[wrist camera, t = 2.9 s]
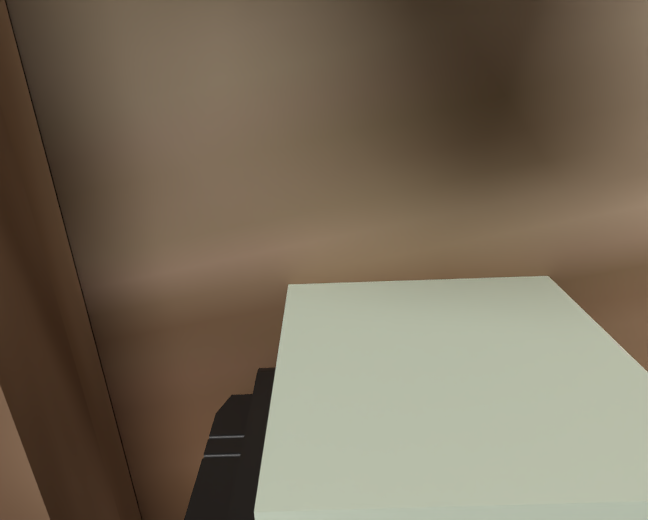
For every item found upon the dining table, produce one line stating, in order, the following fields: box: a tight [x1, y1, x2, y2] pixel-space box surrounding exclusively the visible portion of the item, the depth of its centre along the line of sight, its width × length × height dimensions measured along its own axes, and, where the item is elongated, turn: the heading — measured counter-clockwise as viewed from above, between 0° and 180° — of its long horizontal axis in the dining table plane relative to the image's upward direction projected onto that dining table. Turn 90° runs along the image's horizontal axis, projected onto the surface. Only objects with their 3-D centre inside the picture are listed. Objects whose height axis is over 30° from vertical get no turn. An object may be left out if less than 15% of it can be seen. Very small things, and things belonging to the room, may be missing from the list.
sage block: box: [254, 276, 648, 520], centre depth 8 cm, size 5×5×5 cm
